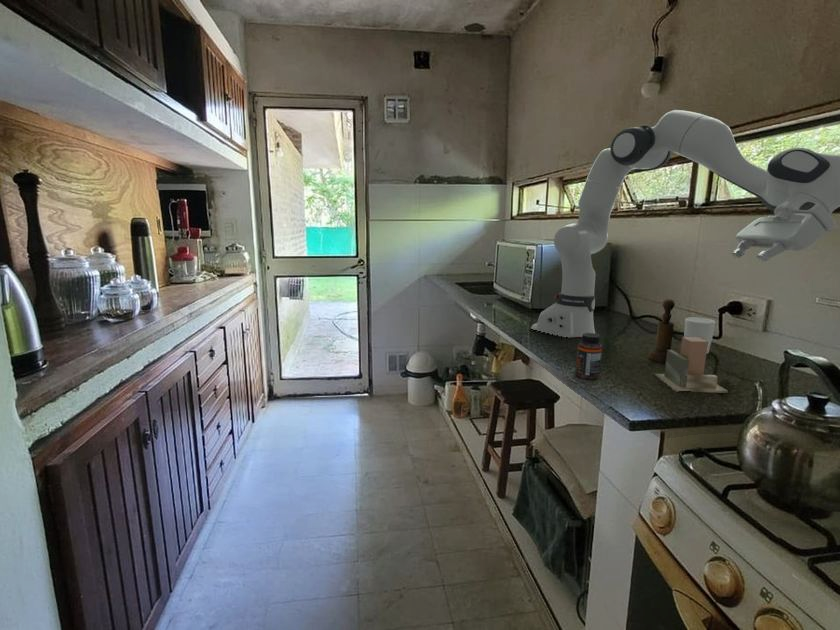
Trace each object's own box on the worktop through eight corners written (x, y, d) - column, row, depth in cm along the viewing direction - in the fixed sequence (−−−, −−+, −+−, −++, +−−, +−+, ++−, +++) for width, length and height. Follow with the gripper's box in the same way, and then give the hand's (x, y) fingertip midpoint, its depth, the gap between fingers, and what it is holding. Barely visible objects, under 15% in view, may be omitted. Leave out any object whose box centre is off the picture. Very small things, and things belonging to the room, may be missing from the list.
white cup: (715, 355, 133) (720, 323, 131) (686, 354, 134) (691, 322, 132) (704, 348, 140) (708, 318, 138) (677, 347, 142) (681, 316, 140)
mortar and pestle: (644, 357, 131) (651, 298, 127) (659, 355, 133) (666, 296, 129) (664, 364, 125) (671, 302, 121) (679, 361, 127) (687, 300, 124)
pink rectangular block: (693, 379, 112) (698, 337, 109) (701, 384, 108) (708, 341, 105) (676, 378, 112) (682, 337, 110) (684, 384, 108) (690, 341, 106)
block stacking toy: (702, 376, 115) (706, 349, 113) (727, 392, 104) (732, 362, 102) (654, 375, 116) (657, 348, 114) (675, 391, 105) (679, 361, 103)
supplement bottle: (571, 372, 118) (574, 331, 115) (592, 372, 118) (596, 331, 116) (581, 380, 112) (584, 337, 109) (603, 379, 112) (607, 337, 110)
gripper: (759, 207, 112) (713, 245, 114) (825, 204, 92) (768, 250, 95) (774, 225, 112) (728, 263, 115) (843, 225, 92) (786, 271, 95)
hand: (746, 257), depth 105 cm, fingers open, 8 cm apart
